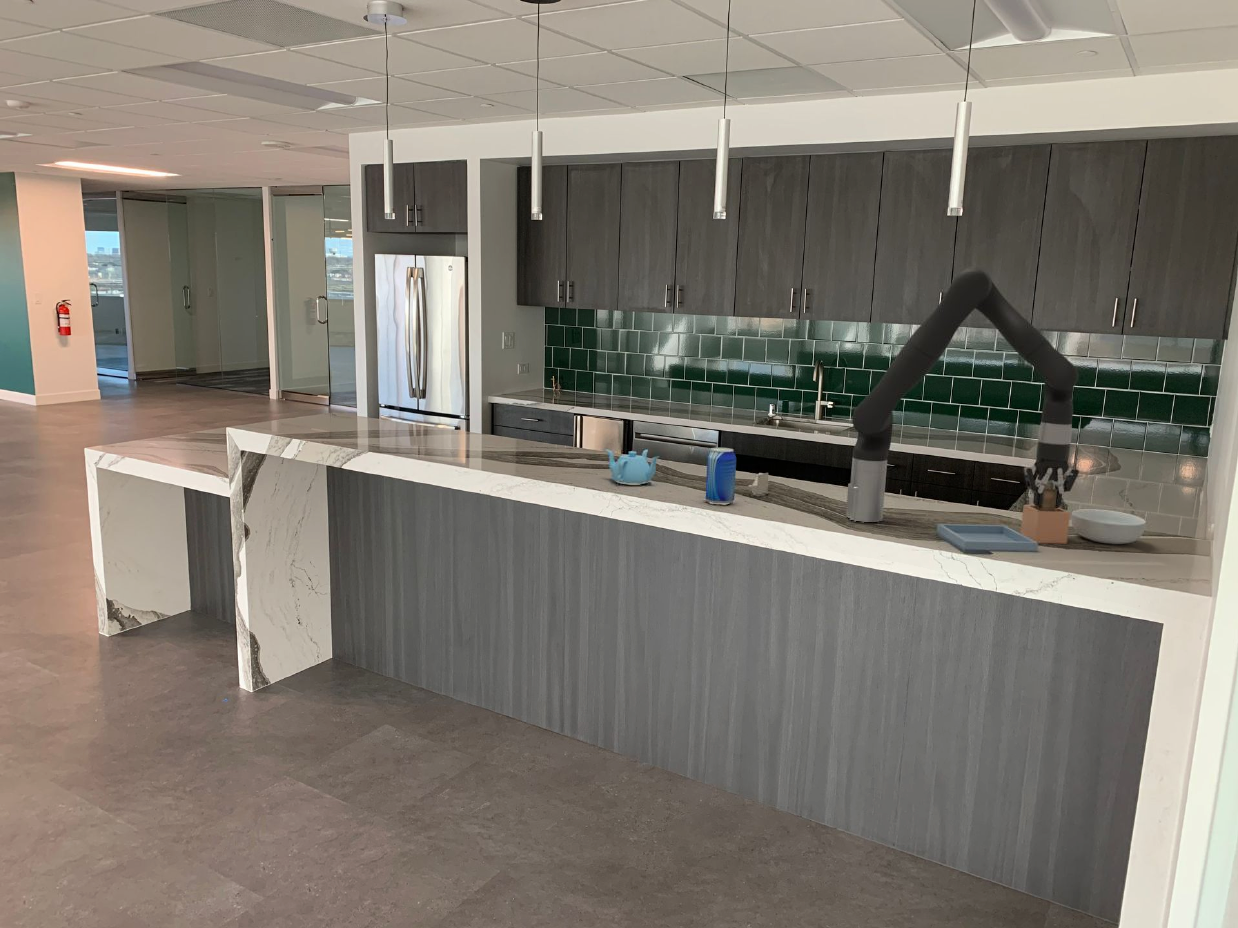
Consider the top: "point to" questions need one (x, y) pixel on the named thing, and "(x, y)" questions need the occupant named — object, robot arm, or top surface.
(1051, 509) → the walnut peg
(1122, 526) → the cereal bowl
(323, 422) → the top surface
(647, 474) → the teapot
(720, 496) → the beer can
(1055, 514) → the terracotta open box
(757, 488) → the architectural model
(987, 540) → the slate-blue tray
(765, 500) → the top surface
